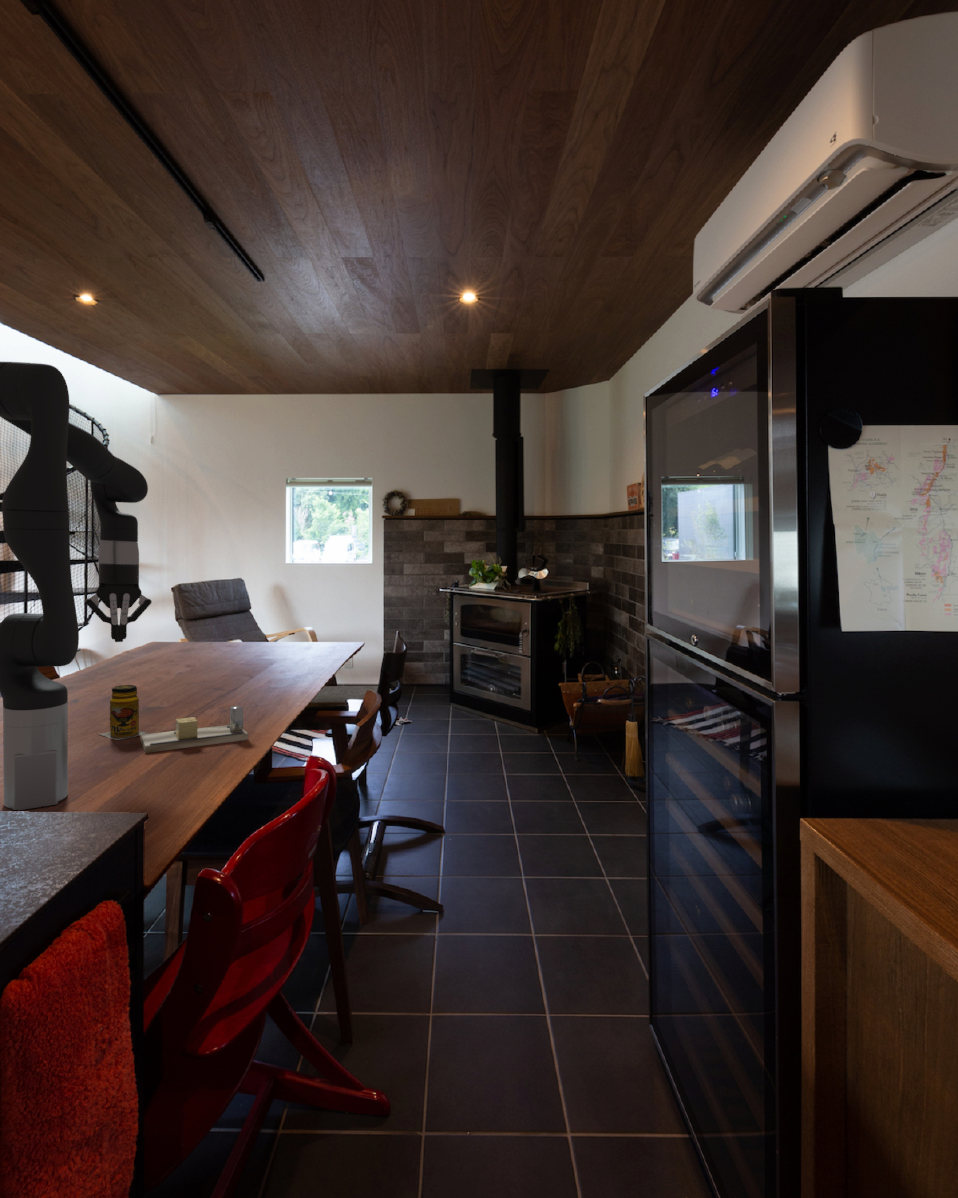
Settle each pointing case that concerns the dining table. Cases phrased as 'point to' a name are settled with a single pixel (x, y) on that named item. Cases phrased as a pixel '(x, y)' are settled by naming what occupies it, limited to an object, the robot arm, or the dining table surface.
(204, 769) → the dining table surface
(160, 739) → the board
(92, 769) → the dining table surface
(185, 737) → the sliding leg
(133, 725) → the condiment
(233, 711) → the silver cylinder with leg
